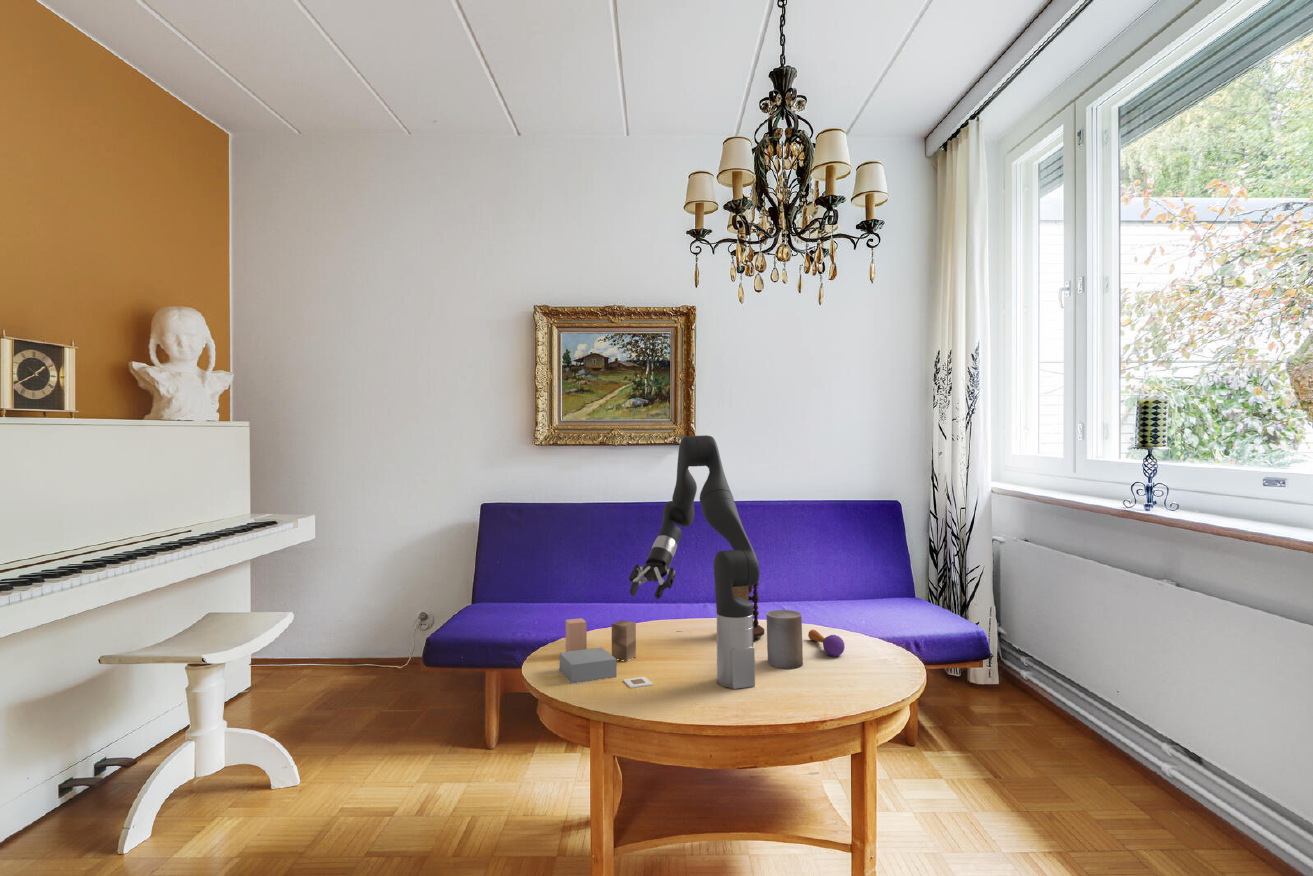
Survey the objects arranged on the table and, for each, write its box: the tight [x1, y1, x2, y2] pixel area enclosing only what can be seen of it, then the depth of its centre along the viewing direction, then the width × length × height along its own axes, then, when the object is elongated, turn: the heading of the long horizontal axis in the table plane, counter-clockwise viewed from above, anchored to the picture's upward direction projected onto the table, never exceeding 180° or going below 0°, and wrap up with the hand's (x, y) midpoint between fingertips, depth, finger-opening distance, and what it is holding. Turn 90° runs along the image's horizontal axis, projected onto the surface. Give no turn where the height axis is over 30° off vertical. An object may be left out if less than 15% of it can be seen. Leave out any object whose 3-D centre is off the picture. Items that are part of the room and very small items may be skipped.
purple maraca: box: [807, 629, 846, 657], centre depth 193 cm, size 6×6×20 cm
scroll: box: [732, 581, 765, 642], centre depth 207 cm, size 15×15×20 cm
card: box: [622, 676, 654, 689], centre depth 164 cm, size 6×6×1 cm
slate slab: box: [559, 647, 618, 684], centre depth 171 cm, size 12×12×5 cm
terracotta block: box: [565, 618, 588, 652], centre depth 188 cm, size 5×5×10 cm
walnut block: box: [611, 619, 637, 662], centre depth 185 cm, size 5×5×10 cm
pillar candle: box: [765, 608, 804, 669], centre depth 179 cm, size 10×10×15 cm
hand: (644, 596), depth 195 cm, fingers open, 8 cm apart
